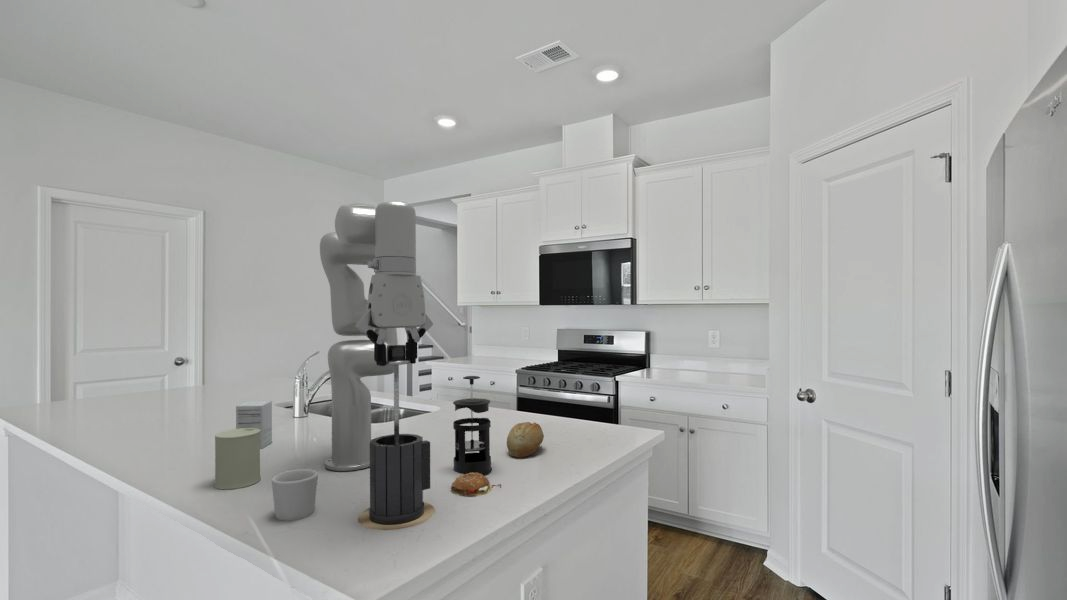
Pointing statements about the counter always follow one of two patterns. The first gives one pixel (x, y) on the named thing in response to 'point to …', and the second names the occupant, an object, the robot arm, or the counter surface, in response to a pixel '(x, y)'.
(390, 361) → the plunger
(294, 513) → the cup
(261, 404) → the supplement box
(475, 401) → the french press
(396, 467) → the dark slatted tankard
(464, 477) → the hamburger
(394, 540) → the counter surface
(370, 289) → the robot arm
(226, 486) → the can
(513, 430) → the bread roll
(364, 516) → the trivet
